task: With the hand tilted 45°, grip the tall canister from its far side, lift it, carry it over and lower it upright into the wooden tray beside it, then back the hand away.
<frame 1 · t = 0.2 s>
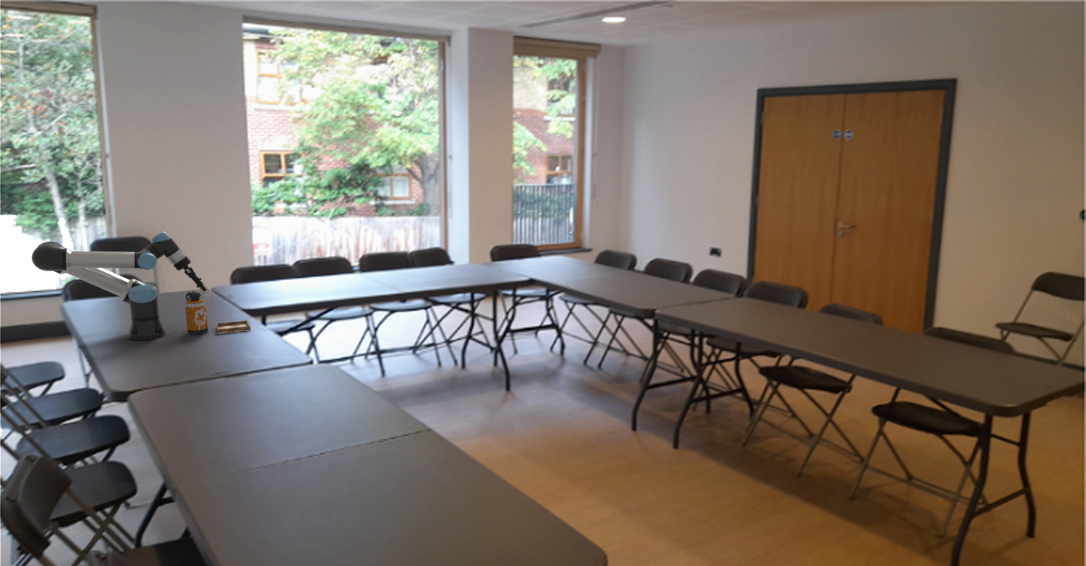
hand: (208, 294, 378), 15 cm above the table, tool tilted 35°, fingers open, 13 cm apart
canister: (197, 333, 363), on the table
wooden tray: (233, 329, 369), on the table
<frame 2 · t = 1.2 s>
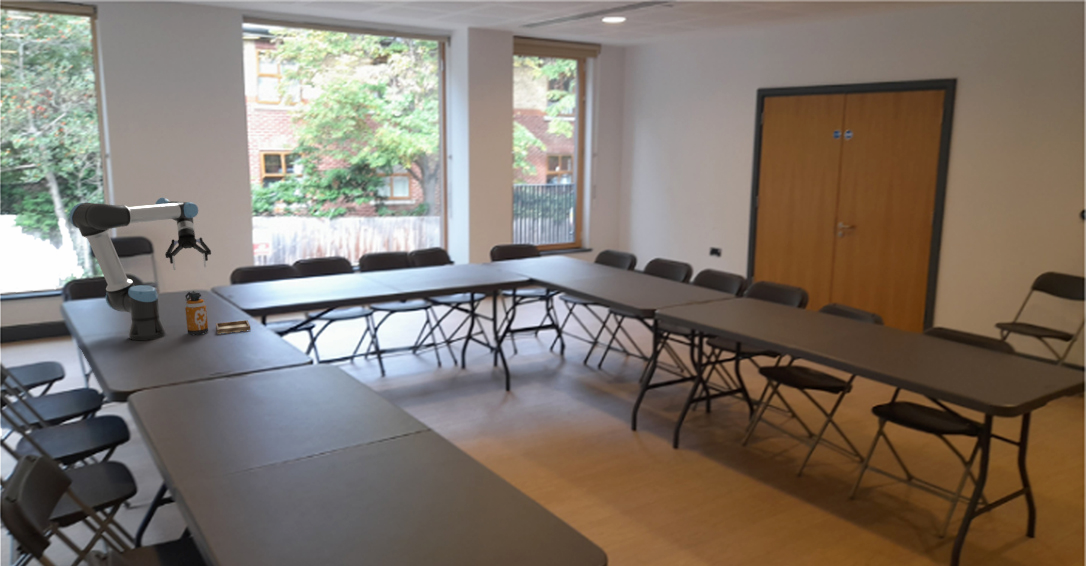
hand: (189, 267, 369), 30 cm above the table, tool tilted 45°, fingers open, 13 cm apart
nothing on the table moved.
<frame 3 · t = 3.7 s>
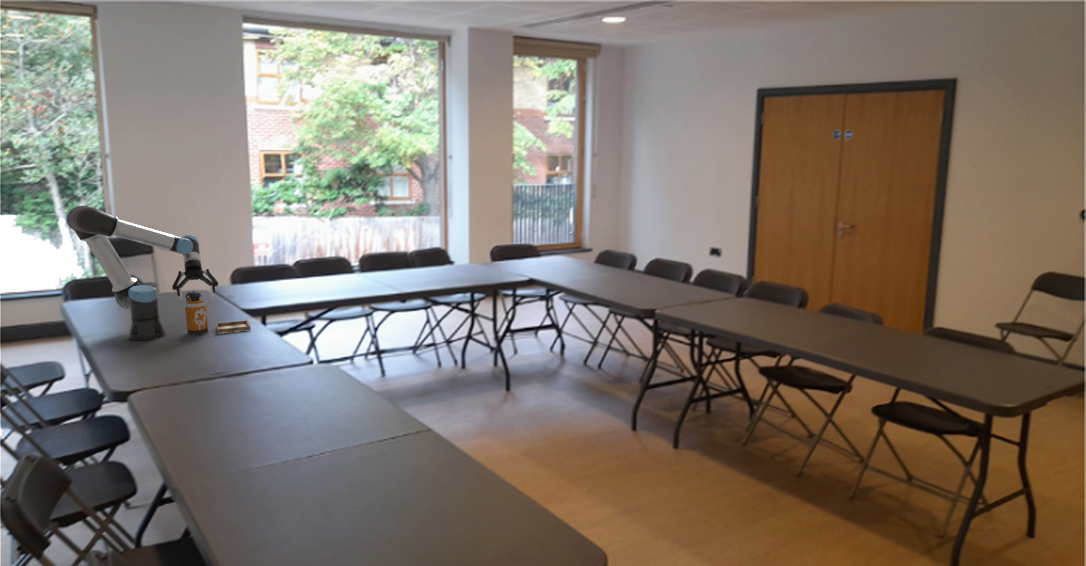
hand: (197, 299, 365), 15 cm above the table, tool tilted 45°, fingers open, 13 cm apart
nothing on the table moved.
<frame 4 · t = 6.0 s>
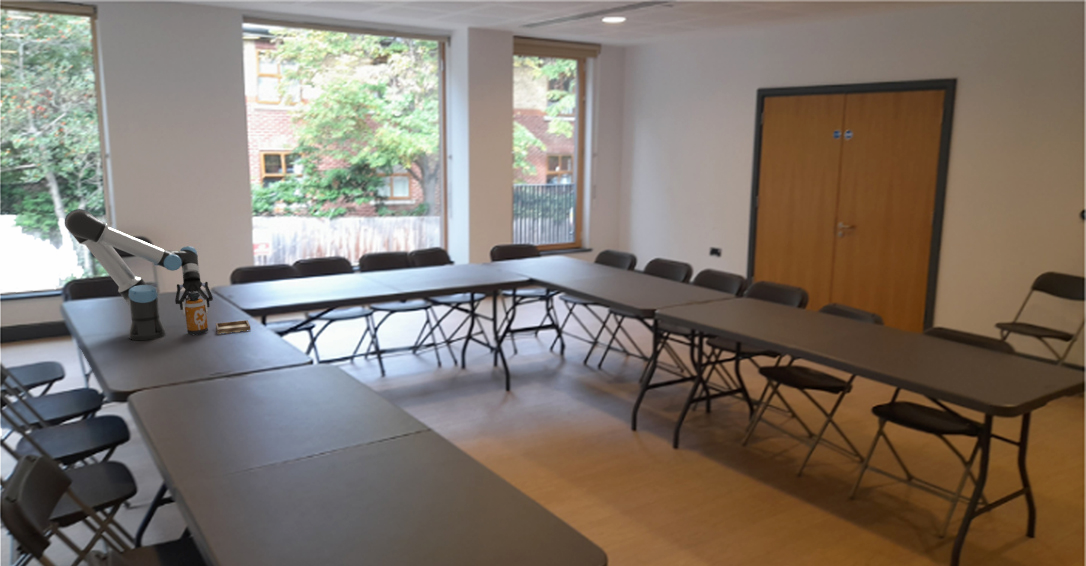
hand: (195, 313, 359), 10 cm above the table, tool tilted 45°, fingers closed on canister, 9 cm apart
canister: (197, 332, 363), on the table, touching gripper
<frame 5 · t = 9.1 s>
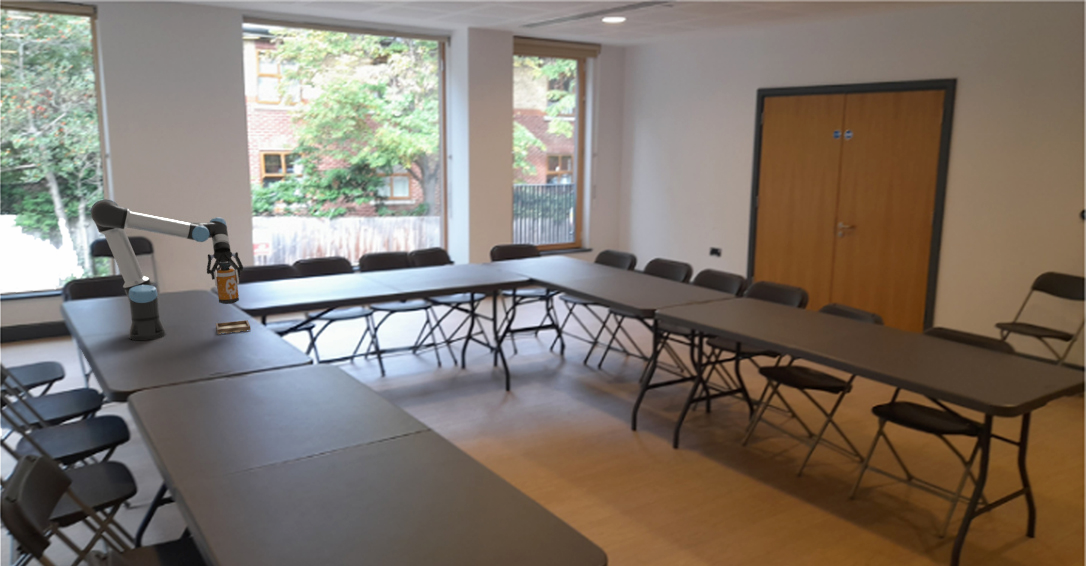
hand: (227, 283, 362), 23 cm above the table, tool tilted 45°, fingers closed on canister, 9 cm apart
canister: (228, 302, 367), point 13 cm above the table, touching gripper
when the fingers open (12 cm above the table, at t = 12.4 s): canister drops 1 cm, resting on wooden tray.
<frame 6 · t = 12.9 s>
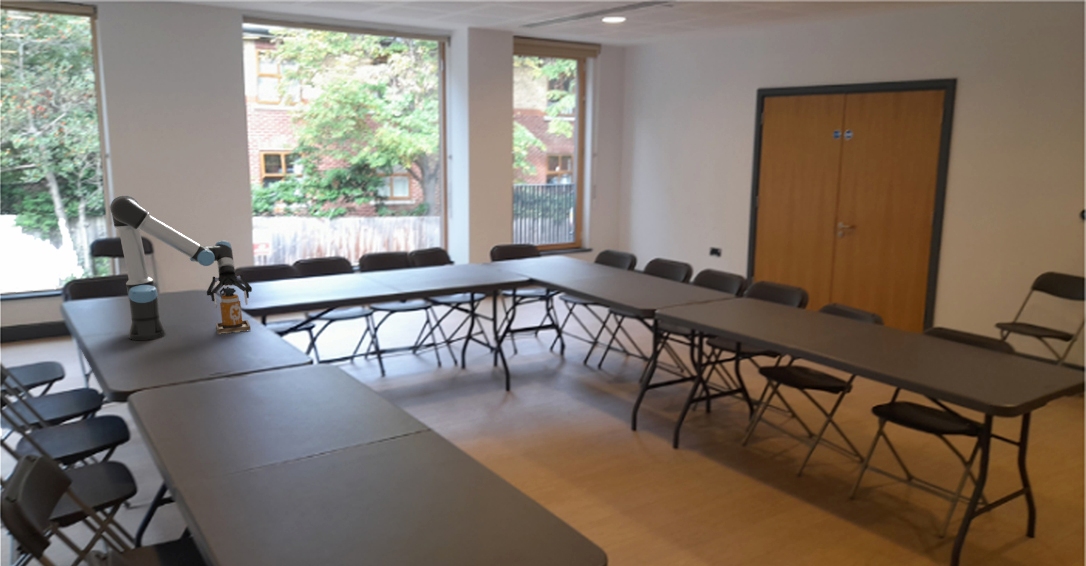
hand: (231, 304, 365), 13 cm above the table, tool tilted 45°, fingers open, 13 cm apart
canister: (231, 328, 369), point 1 cm above the table, touching wooden tray
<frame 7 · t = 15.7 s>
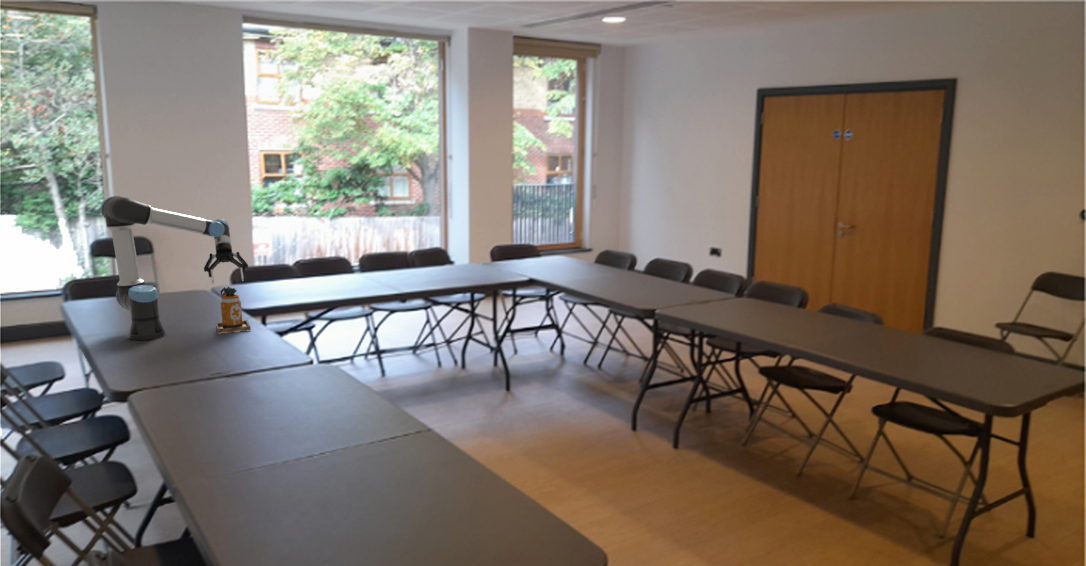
hand: (228, 280, 374), 22 cm above the table, tool tilted 45°, fingers open, 13 cm apart
nothing on the table moved.
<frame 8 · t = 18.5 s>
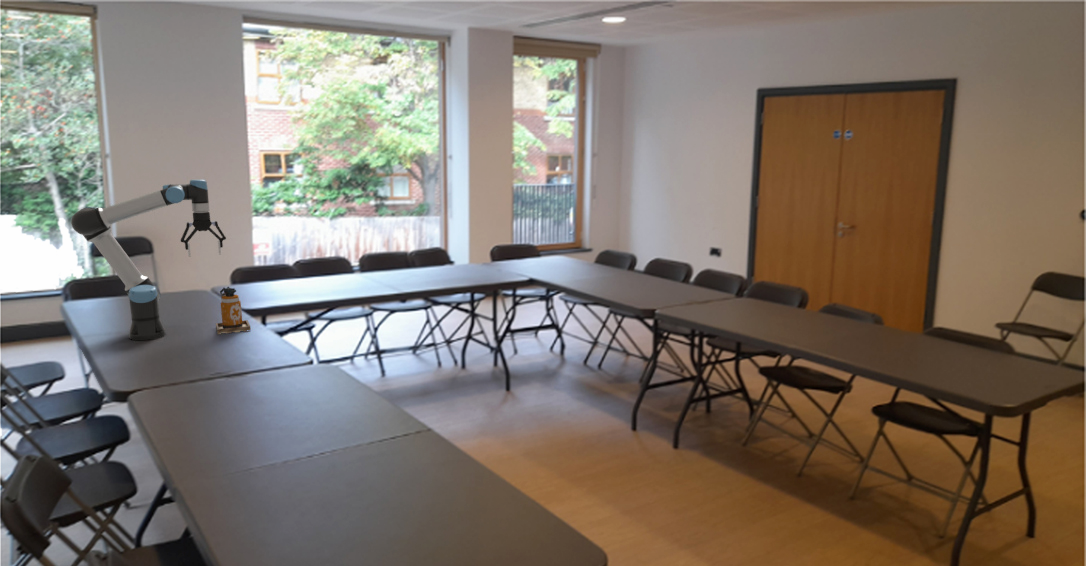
hand: (204, 255, 373), 35 cm above the table, tool pointing down, fingers open, 13 cm apart
nothing on the table moved.
at the end: canister 0.7 cm off-centre on the wooden tray, point 0.6 cm above the wooden tray's base; canister tilted 0°; the gripper is holding nothing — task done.
